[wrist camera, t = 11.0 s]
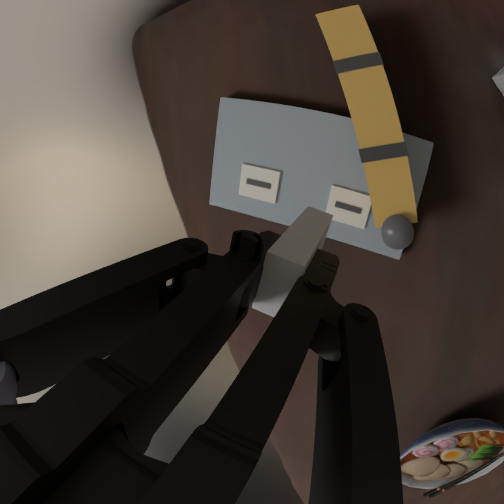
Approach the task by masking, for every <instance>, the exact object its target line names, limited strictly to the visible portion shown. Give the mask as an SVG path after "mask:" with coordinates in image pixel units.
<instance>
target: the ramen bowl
mask: <svg viewBox="0 0 504 504" xmlns="http://www.w3.org/2000/svg"><path fill="white" fill-rule="evenodd" d="M400 461H401V474H402V484H405V485H407V486H409V487H415V488H424V489H433V488H436V489H434V490H432V491H429V492H427V493H424V495H423V496H425V497H426V496H428V495H429V497H430V498H431V497H433V496H435V495H437V494H439V493H441V492H443V491H445V490H447V489H449V488H451V487H453V486H455V485H459V484H462V483H466V482H469V481H471V480H474V479H476V478H478V477H480V476H483V475H485V474H487V473H488V472H490V471H491V470H493V469H494V468H495V467H497V466H498V465H499V464H501V463H502V462H503V461H504V429H503V428H502V427H501V426H500V425H499V424H497V423H496V422H493V421H491V420H486V419H481V418H468V419H458V420H455V421H451V422H448V423H445V424H442V425H440V426H438V427H436V428H434V429H432V430H430V431H428V432H425V433H423V434H422V435H421V436H420V437H419V438H418V439H417V440H415V441H414V442H413V443H412V444H411V445H410V446H409V447H408V448H406V450H405V451H404V452H403V453H402V454H401V455H400ZM434 492H435V493H434Z"/></svg>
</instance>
